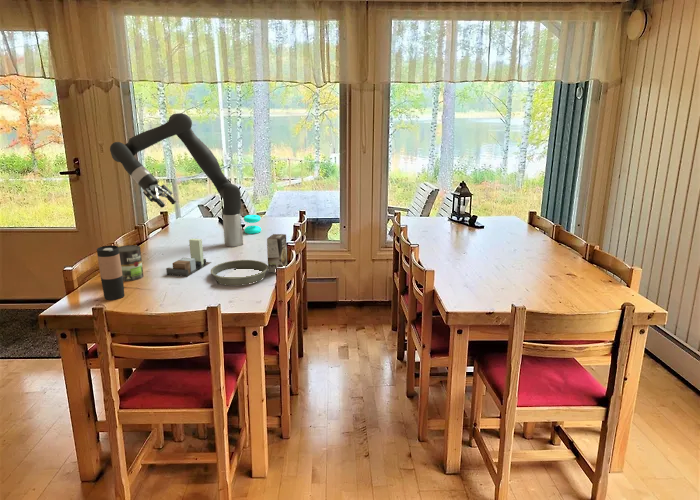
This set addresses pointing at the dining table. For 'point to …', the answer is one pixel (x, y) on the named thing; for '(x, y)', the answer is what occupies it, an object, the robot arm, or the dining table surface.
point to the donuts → (252, 220)
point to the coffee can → (131, 262)
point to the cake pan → (239, 265)
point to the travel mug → (110, 272)
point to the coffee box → (276, 251)
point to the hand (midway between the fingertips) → (169, 204)
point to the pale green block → (196, 250)
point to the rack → (184, 271)
